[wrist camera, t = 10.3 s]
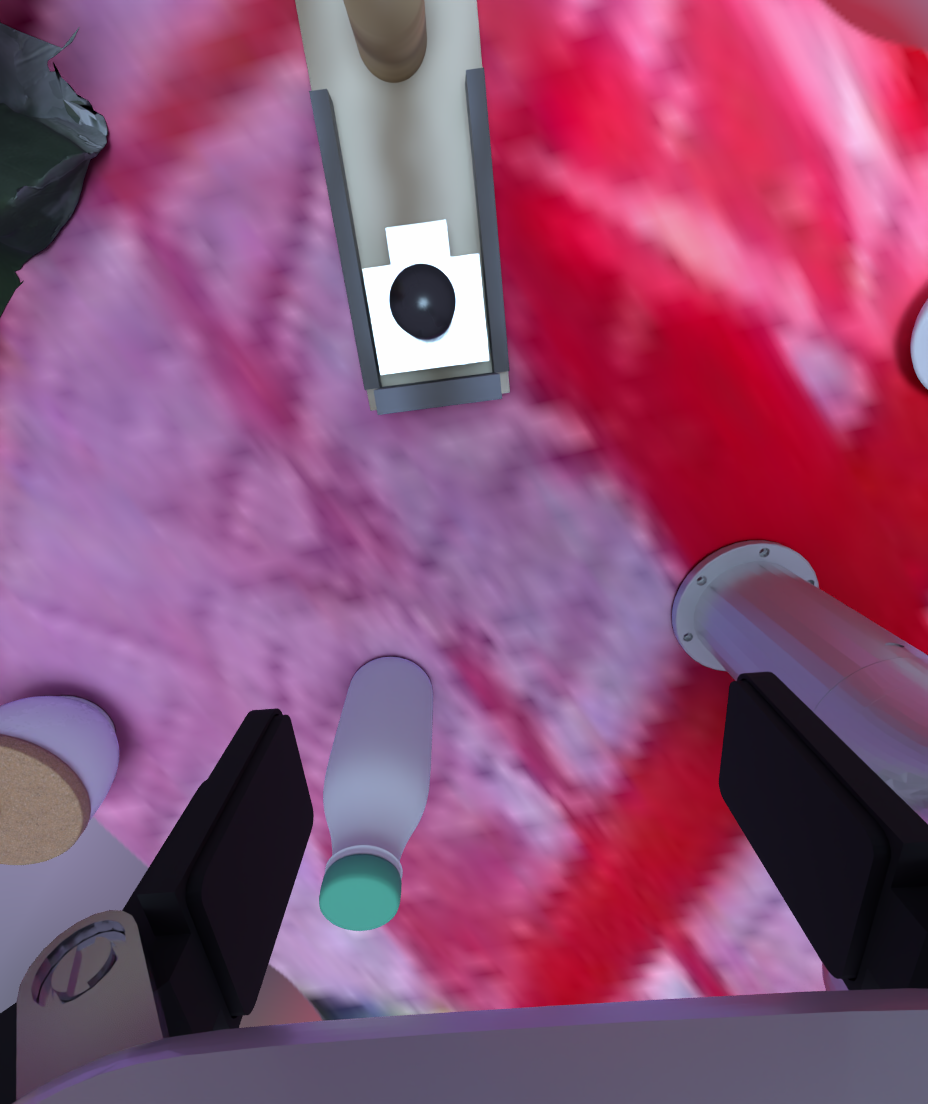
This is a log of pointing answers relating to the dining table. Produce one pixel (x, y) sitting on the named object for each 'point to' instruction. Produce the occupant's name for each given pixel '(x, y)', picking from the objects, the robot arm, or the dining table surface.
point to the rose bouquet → (38, 151)
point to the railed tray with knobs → (409, 180)
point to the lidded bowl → (51, 774)
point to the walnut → (389, 36)
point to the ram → (426, 302)
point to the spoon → (920, 345)
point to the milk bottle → (375, 790)
